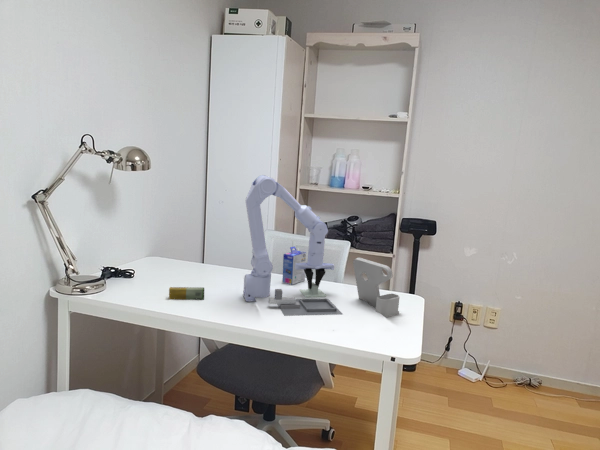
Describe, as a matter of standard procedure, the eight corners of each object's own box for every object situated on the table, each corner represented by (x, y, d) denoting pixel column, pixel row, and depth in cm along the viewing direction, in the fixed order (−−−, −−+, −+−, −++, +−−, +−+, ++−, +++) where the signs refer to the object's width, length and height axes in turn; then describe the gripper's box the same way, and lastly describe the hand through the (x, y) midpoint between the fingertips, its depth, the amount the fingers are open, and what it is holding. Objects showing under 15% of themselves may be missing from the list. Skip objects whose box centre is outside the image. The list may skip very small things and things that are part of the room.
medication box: (204, 298, 164) (204, 287, 163) (204, 300, 161) (204, 289, 161) (169, 297, 162) (169, 286, 161) (168, 300, 159) (168, 288, 159)
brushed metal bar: (269, 304, 153) (270, 291, 152) (268, 301, 155) (269, 289, 154) (296, 303, 155) (297, 290, 155) (294, 301, 157) (295, 288, 157)
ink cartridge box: (294, 277, 198) (296, 244, 196) (305, 280, 195) (307, 247, 193) (281, 282, 190) (283, 247, 187) (292, 285, 187) (294, 250, 184)
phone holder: (401, 314, 162) (407, 264, 159) (383, 319, 156) (388, 267, 153) (363, 299, 175) (368, 253, 172) (345, 304, 168) (350, 256, 166)
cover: (305, 298, 168) (306, 287, 167) (299, 292, 176) (300, 281, 175) (326, 298, 170) (326, 287, 169) (319, 292, 178) (320, 281, 177)
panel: (284, 320, 148) (284, 312, 147) (273, 303, 163) (274, 296, 162) (342, 318, 153) (343, 310, 153) (327, 302, 168) (328, 295, 168)
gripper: (299, 254, 164) (297, 291, 167) (338, 255, 168) (335, 291, 170) (294, 250, 171) (292, 285, 173) (331, 250, 175) (328, 285, 177)
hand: (313, 288), depth 172 cm, fingers closed on cover, 2 cm apart
